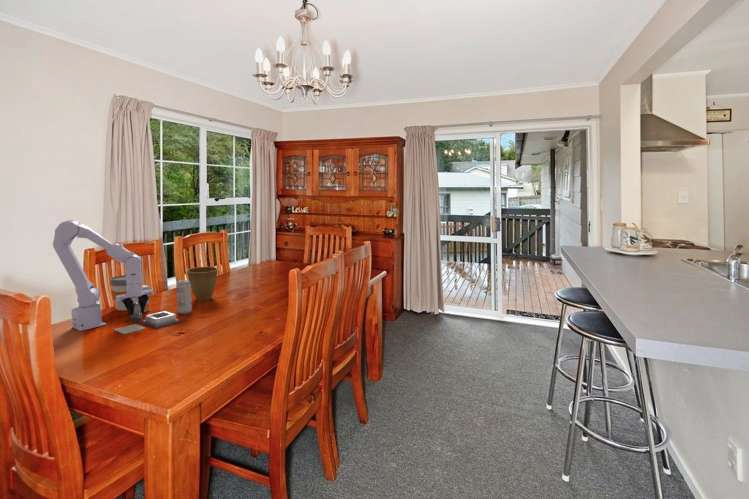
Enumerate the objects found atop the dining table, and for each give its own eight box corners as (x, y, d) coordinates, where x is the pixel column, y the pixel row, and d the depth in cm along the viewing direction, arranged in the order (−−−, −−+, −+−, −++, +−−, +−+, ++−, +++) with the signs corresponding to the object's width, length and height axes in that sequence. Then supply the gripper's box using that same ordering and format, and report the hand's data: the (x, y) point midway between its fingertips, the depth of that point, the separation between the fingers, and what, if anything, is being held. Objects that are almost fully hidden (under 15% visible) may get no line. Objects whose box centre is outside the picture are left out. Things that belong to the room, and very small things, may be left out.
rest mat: (124, 334, 151) (124, 333, 151) (114, 330, 155) (114, 329, 155) (145, 328, 158) (145, 327, 158) (135, 324, 162) (135, 323, 162)
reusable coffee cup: (118, 313, 177) (115, 281, 175) (107, 308, 184) (105, 277, 182) (147, 307, 187) (145, 277, 185) (136, 302, 194) (134, 273, 192)
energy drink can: (194, 311, 182) (193, 280, 180) (182, 315, 176) (181, 283, 174) (187, 309, 185) (185, 279, 183) (175, 312, 179) (173, 281, 177)
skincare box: (136, 313, 177) (134, 288, 175) (132, 312, 179) (131, 287, 178) (150, 310, 182) (149, 286, 180) (146, 309, 184) (145, 284, 182)
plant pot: (188, 296, 207) (187, 267, 205) (218, 294, 214) (217, 266, 211) (187, 304, 194) (186, 272, 192) (219, 301, 200) (218, 271, 198)
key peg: (134, 322, 165) (133, 304, 163) (129, 321, 167) (128, 303, 166) (144, 320, 168) (142, 302, 167) (139, 318, 170) (138, 301, 169)
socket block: (156, 328, 159) (156, 320, 158) (141, 322, 165) (141, 315, 165) (179, 321, 167) (179, 314, 167) (164, 316, 174) (164, 309, 173)
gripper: (120, 287, 157) (122, 319, 159) (156, 281, 169) (158, 311, 171) (112, 285, 161) (114, 316, 162) (148, 279, 173) (149, 308, 175)
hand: (136, 313), depth 167 cm, fingers closed on key peg, 4 cm apart
